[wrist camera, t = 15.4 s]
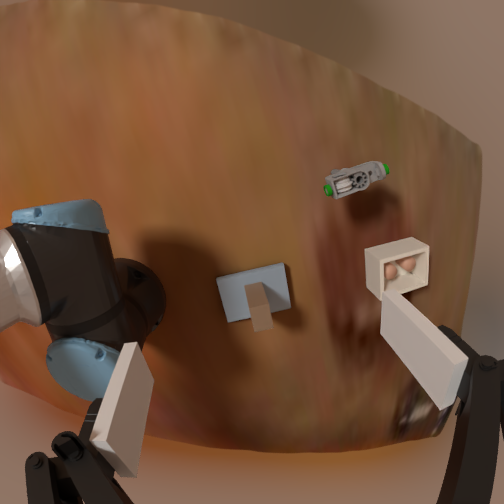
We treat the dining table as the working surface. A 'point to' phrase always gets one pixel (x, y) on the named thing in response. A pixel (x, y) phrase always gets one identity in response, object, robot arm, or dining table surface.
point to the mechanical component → (354, 178)
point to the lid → (255, 295)
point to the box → (397, 266)
